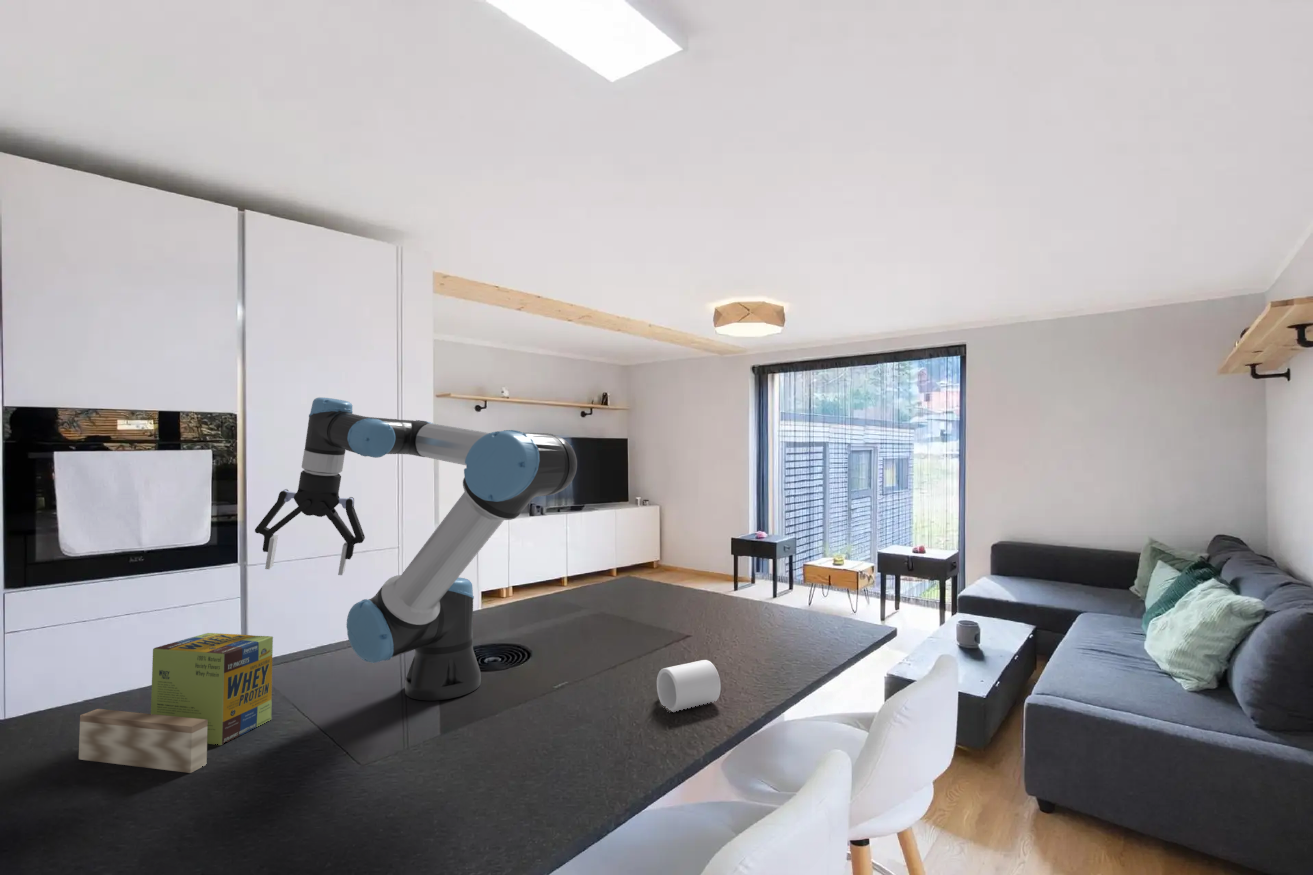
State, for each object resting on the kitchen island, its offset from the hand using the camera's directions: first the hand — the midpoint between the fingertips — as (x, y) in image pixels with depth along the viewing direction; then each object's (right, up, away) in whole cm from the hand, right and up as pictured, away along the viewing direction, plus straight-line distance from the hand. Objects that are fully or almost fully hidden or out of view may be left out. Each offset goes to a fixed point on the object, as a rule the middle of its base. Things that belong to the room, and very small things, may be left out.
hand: (305, 570), depth 127 cm
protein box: (-6, -25, -19) cm, 32 cm away
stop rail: (-8, -24, -31) cm, 40 cm away
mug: (+79, -25, -8) cm, 83 cm away
